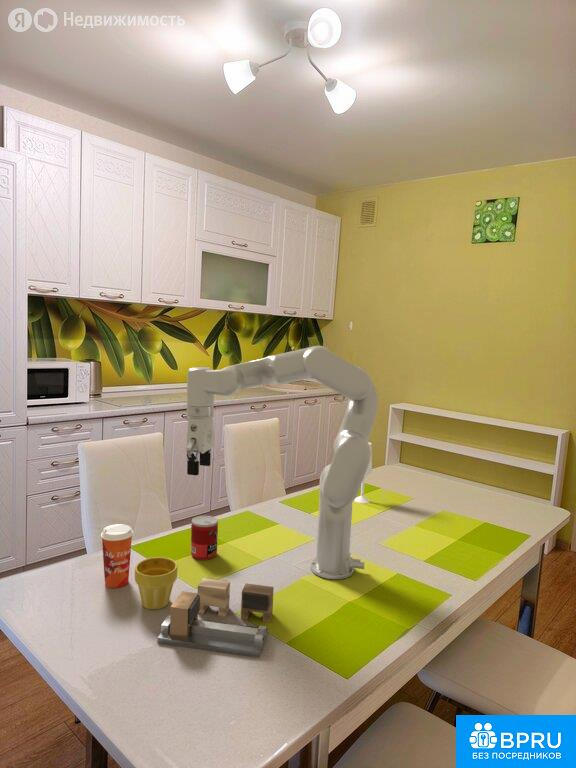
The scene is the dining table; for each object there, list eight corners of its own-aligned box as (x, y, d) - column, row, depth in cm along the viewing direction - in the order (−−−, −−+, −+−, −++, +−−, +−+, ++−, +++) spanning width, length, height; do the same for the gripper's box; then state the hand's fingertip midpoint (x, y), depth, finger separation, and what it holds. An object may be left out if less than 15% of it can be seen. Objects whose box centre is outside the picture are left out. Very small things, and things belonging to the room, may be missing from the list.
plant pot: (178, 611, 131) (179, 573, 129) (134, 616, 128) (135, 577, 126) (175, 590, 140) (175, 555, 139) (134, 594, 137) (134, 558, 136)
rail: (267, 633, 123) (268, 600, 122) (259, 657, 114) (260, 621, 113) (172, 620, 127) (173, 587, 126) (157, 642, 118) (157, 607, 117)
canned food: (212, 562, 157) (213, 526, 156) (186, 558, 159) (187, 523, 158) (220, 551, 165) (221, 517, 164) (196, 548, 166) (196, 514, 165)
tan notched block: (203, 603, 135) (203, 576, 134) (229, 606, 134) (230, 580, 133) (197, 612, 130) (197, 585, 129) (224, 616, 129) (225, 589, 128)
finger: (244, 610, 132) (245, 583, 132) (272, 613, 131) (273, 586, 131) (240, 620, 128) (241, 592, 127) (268, 623, 127) (269, 596, 126)
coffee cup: (103, 592, 138) (103, 537, 136) (98, 578, 145) (98, 525, 143) (136, 586, 141) (136, 532, 140) (130, 573, 149) (130, 521, 147)
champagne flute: (371, 503, 214) (375, 445, 211) (354, 502, 214) (358, 444, 211) (369, 498, 221) (372, 441, 218) (352, 497, 221) (356, 440, 218)
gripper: (202, 417, 142) (201, 479, 144) (222, 407, 158) (221, 463, 161) (175, 415, 143) (174, 477, 145) (198, 405, 160) (197, 461, 162)
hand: (199, 469), depth 153 cm, fingers open, 9 cm apart
